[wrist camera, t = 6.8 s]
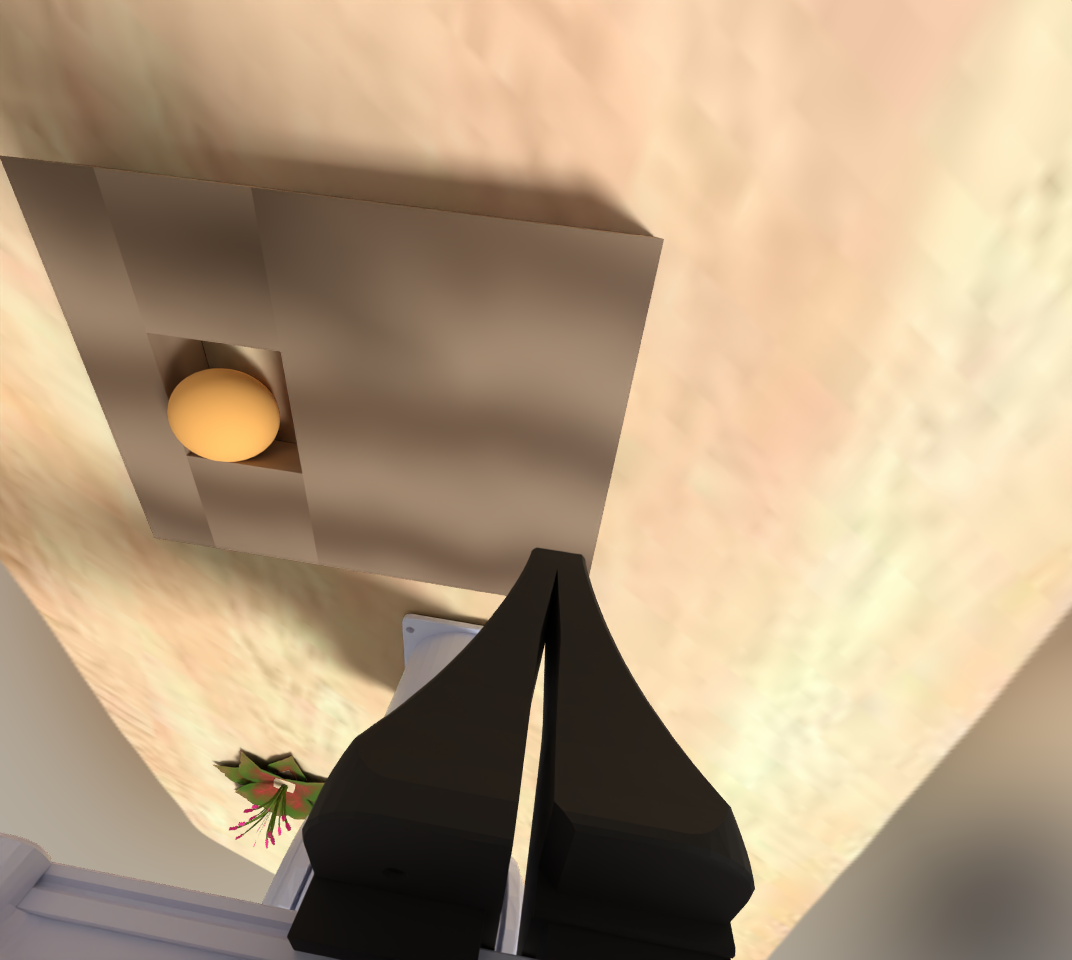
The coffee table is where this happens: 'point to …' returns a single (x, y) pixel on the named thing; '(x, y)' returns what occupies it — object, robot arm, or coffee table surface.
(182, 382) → the ball
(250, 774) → the lily flower
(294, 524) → the plate
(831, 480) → the coffee table surface
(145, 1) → the coffee table surface
